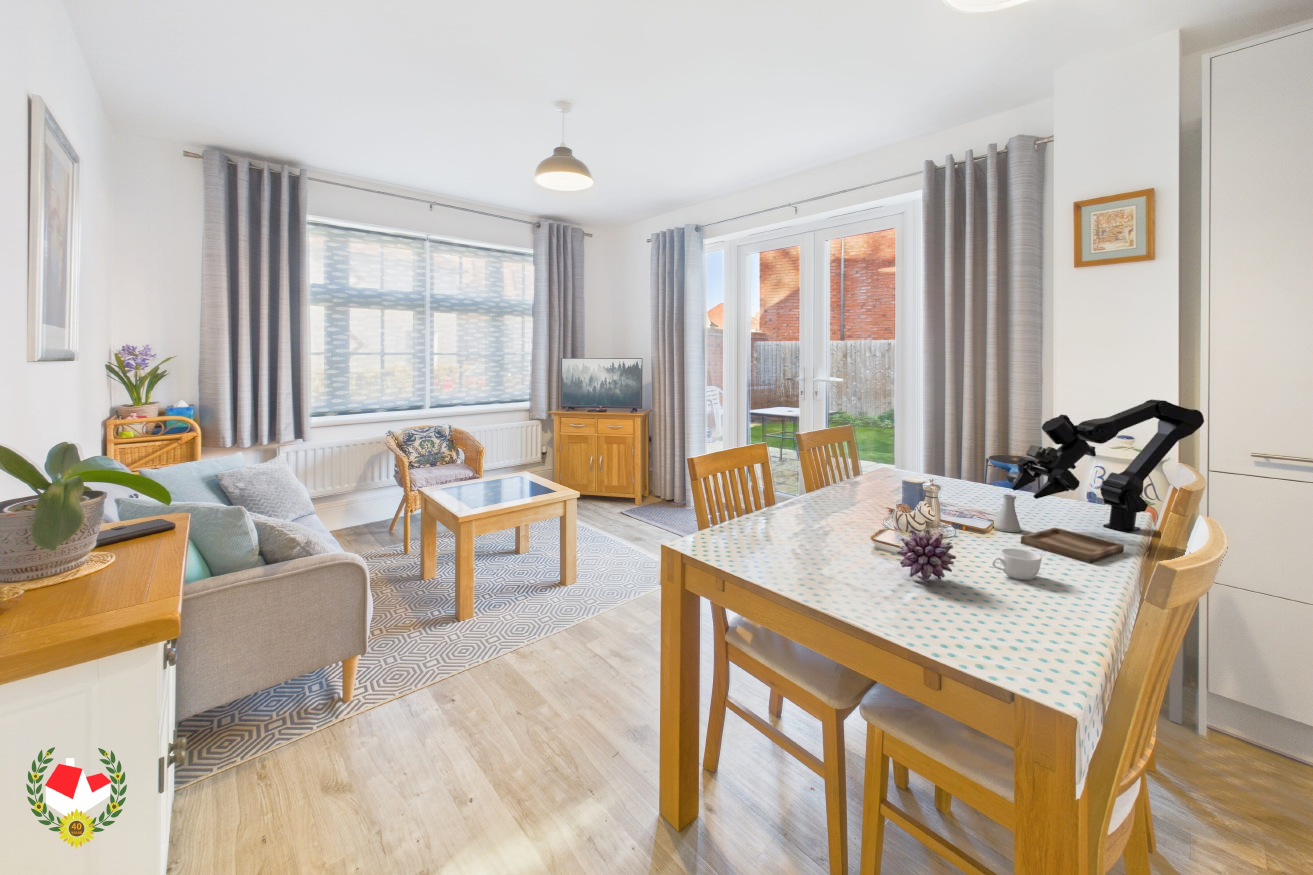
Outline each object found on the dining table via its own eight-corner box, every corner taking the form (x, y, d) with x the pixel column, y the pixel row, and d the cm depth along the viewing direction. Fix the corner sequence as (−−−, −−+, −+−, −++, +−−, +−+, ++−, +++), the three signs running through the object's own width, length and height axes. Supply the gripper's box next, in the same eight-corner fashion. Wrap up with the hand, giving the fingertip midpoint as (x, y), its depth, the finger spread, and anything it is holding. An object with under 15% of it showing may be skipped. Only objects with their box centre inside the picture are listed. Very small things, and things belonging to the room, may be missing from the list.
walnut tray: (1054, 534, 152) (1054, 527, 152) (1123, 552, 138) (1124, 545, 137) (1020, 543, 145) (1021, 536, 144) (1089, 563, 131) (1090, 555, 130)
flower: (891, 567, 129) (894, 519, 127) (947, 573, 125) (951, 523, 123) (898, 587, 118) (901, 534, 116) (959, 593, 114) (964, 539, 112)
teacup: (1024, 569, 127) (1027, 547, 126) (1047, 583, 119) (1050, 560, 119) (981, 569, 127) (983, 547, 126) (1001, 583, 120) (1003, 560, 119)
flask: (1012, 525, 160) (1015, 492, 158) (1026, 533, 153) (1030, 499, 151) (986, 524, 161) (989, 492, 159) (999, 532, 153) (1002, 498, 152)
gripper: (1026, 431, 162) (985, 467, 163) (1073, 441, 143) (1027, 481, 145) (1049, 457, 163) (1009, 492, 165) (1099, 470, 145) (1053, 510, 146)
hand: (1023, 493), depth 155 cm, fingers open, 9 cm apart
